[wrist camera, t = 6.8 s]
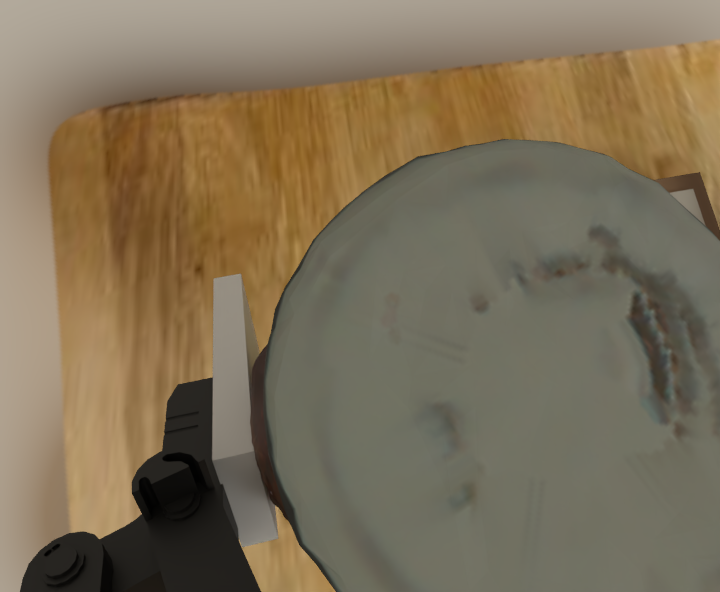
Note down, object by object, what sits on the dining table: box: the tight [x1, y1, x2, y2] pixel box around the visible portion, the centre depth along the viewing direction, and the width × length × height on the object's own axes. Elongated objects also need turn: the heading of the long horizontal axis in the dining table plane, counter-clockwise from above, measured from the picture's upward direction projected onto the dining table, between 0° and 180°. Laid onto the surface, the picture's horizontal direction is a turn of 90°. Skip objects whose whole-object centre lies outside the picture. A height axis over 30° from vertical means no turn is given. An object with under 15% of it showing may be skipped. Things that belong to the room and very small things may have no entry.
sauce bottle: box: [250, 139, 720, 592], centre depth 14 cm, size 6×6×20 cm
